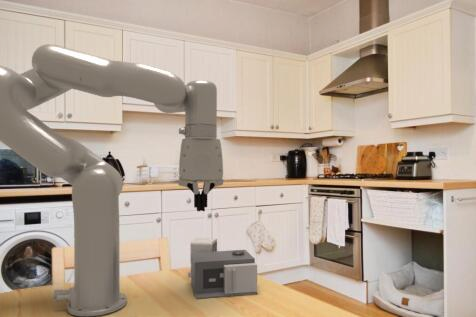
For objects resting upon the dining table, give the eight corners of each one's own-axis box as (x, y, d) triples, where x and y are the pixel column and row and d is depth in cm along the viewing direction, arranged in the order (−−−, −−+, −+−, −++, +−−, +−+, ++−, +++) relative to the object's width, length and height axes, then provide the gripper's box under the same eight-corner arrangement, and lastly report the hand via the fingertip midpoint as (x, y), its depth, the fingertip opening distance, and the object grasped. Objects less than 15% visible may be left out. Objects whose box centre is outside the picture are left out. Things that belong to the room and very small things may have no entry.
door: (225, 295, 89) (225, 267, 89) (223, 291, 91) (223, 265, 91) (257, 292, 91) (257, 265, 91) (255, 289, 93) (255, 262, 93)
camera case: (195, 299, 88) (195, 262, 88) (191, 282, 100) (190, 250, 100) (257, 294, 91) (257, 258, 91) (245, 278, 103) (245, 247, 103)
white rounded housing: (211, 278, 103) (211, 242, 103) (187, 277, 105) (187, 241, 105) (217, 272, 109) (217, 238, 109) (194, 271, 111) (194, 237, 111)
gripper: (169, 131, 84) (169, 213, 84) (234, 133, 87) (234, 211, 87) (168, 134, 91) (168, 209, 91) (228, 135, 94) (228, 208, 94)
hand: (200, 210), depth 89 cm, fingers closed
